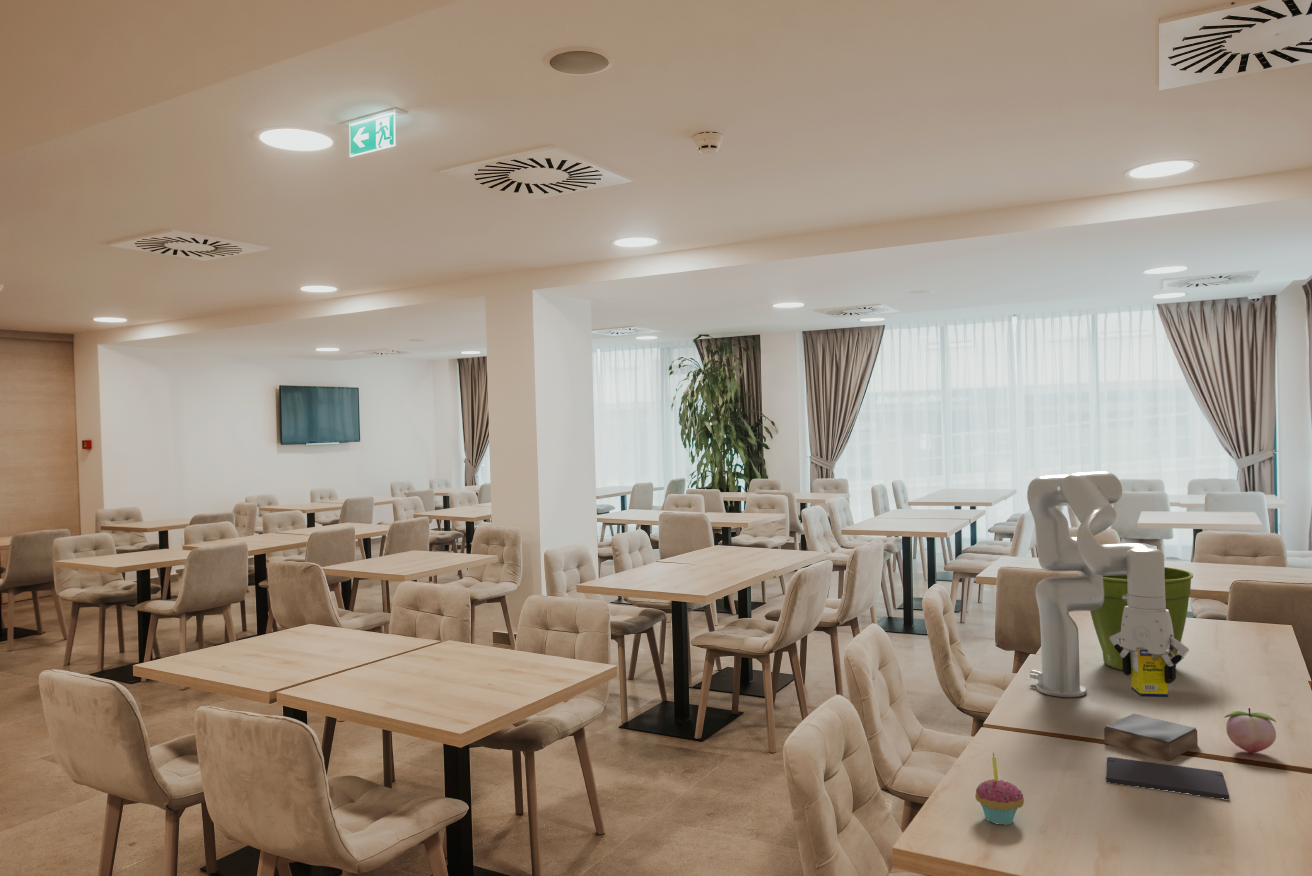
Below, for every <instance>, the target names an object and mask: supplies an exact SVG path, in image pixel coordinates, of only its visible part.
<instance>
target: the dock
mask: <svg viewBox="0 0 1312 876" xmlns="http://www.w3.org/2000/svg"><path fill="white" fill-rule="evenodd" d="M1103 732H1104V738H1103V739H1104V744H1106V745H1108V746H1109V745H1110V746H1112V747H1113V746H1114V747H1117V748H1121V749H1124V750H1128V751H1131V752H1132V751H1133V752H1135V753H1140V754H1142V755H1147V756H1150V757H1154V758H1158V759H1161V760H1165V761H1168V762H1170V761H1172V760H1173V759H1176V758H1177V757H1179V756H1181V755H1183V754H1185V753H1186V752H1188V750H1189V751H1190V749H1191V750H1193V749H1194V748H1196V747H1198V743H1199V742H1198V729H1197V728H1196V727H1193V726H1190V725H1189V726H1188V725H1185V724H1184V725H1183V724H1180V723H1176V722H1172V721H1168V720H1163V719H1158V718H1155V717H1151V716H1146V715H1141V714H1139V713H1138V714H1137V713H1132V714H1130V715H1128V716H1125V717H1123V718H1120V719H1117V720H1116V721H1113V722H1112V723H1109V724H1107V725H1105V726H1104V728H1103Z"/></svg>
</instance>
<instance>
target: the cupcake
mask: <svg viewBox="0 0 1312 876" xmlns="http://www.w3.org/2000/svg"><path fill="white" fill-rule="evenodd" d="M991 759H992V769H993V771H992V772H993V779H988V780H984V782H980V784H978V786H977V787H976V789H975V797H974V798H975V799H976V801H977V802H978V803H979V804H980V806H981V809H982V811H983V813H984V817H985V819H986V820H987V819H988V820H989V821H991V822H994V823H998V824H1009V823H1011V824H1012V823H1013V822H1014V819H1015V815H1016V813H1017V810H1018V809H1019V808H1021V807H1023V806H1024V802H1025V798H1024V794H1023V793H1022V790H1020V789H1019V788H1018V787H1017V786H1016V785H1014V784H1013V783H1011V782H1008V781H1005V780H1002V779H1000V780H999V775H998V766H997V765H998V764H997V758H996V756H995V753H994V752H992V757H991ZM988 820H987V821H988ZM989 821H988V822H989ZM991 822H990V823H991ZM1009 825H1010V824H1009Z"/></svg>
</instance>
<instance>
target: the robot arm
mask: <svg viewBox="0 0 1312 876" xmlns="http://www.w3.org/2000/svg"><path fill="white" fill-rule="evenodd" d="M1122 495H1123V486H1122V483H1121V481H1120V479H1119V478H1118V476H1117V475H1115V474H1114V473H1112V472H1110V471H1084V472H1081V471H1080V472H1074V473H1070V474H1050V475H1049V474H1048V475H1043V476H1038V477H1036V478H1033V479H1032V480H1031V481H1030V483H1028V487H1027V494H1026V498H1027V504H1028V507H1029V509H1030V513H1031V515H1032V518H1033V521H1034V526H1035V529H1034V530H1035V540H1036V549H1037V558H1038V563H1039V566H1040V567H1041V569H1042V570H1044V571H1047V572H1053V573H1061V572H1062V573H1063V572H1066V573H1067V572H1069V573H1070V572H1077V573H1078V576H1074V575H1073V576H1068V575H1067V576H1053V577H1052V576H1049V577H1046V578H1043V579H1041V580H1039V581H1038V583H1037V584H1036V587H1035V599H1036V603H1037V607H1038V612H1039V613H1038V614H1039V627H1040V652H1041V657H1040V658H1041V671H1039V670H1037V669H1031V670H1030V672H1029V678H1030V679H1034V680H1037V681H1038V682H1037V683H1036V687H1035V688H1036V690H1037V691H1038V692H1039V693H1041V694H1043V695H1044V694H1045V695H1048V696H1053V697H1060V698H1081V697H1083V696H1085V695H1086V694H1087V688H1086V687H1085V686H1083V684H1081V679H1080V678H1081V677H1080V676H1081V675H1080V673H1081V672H1080V671H1081V670H1080V645H1079V644H1080V642H1079V639H1080V638H1079V627H1078V625H1077V624H1076V621H1074V620H1073V618H1072V617H1071V616H1070V614H1069V613H1071V612H1089V611H1092V610H1097V609H1099V608H1101V607H1102V605H1103V603H1104V584H1103V576H1119V575H1127V587H1128V593H1127V594H1126V595H1124V594H1123V595H1122V599H1123V600H1126V601H1127V604H1128V606H1125V607H1124V610H1123V616H1122V623H1121V632H1119V633H1117V634H1115V635H1112V636H1110V640H1111V642H1112V644H1113V645H1114V647H1115V649H1116V650H1117V651H1118V652H1119V654H1120V656H1121V657H1122V659H1123V670H1122V671H1123V674H1124V676H1131V659H1130V651H1134V652H1135V651H1136V648H1143V649H1148V653H1149V654H1151V655H1158V656H1162V658H1163V659H1164V661H1165V662H1166V663H1167V665H1166V666H1164V671H1165V683H1167V684H1168V685H1169V684H1171V683H1174V682H1175V680H1176V679H1177V670H1176V669H1177V664H1179V663H1180V662H1181V661H1182V660H1184V658H1185V656H1186V655H1188V653H1189V651H1190V649H1189V647H1187V646H1186V645H1184V644H1183V643H1182V642H1181V643H1180V642H1179V641H1178V640H1176V639H1175V638H1174V633H1173V626H1172V621H1171V617H1170V613H1169V610H1167V609H1166V601H1165V572H1164V567H1165V555H1164V553H1163V551H1161V550H1160V549H1158V548H1152V547H1149V546H1147V545H1144V544H1143V543H1136V542H1135V543H1133V542H1132V543H1131V542H1130V543H1105V544H1104V543H1102V544H1101V543H1099V541H1098V540H1097V539H1096V537H1095V536H1096V535H1098V534H1100V533H1102V532H1104V531H1106V530H1107V529H1109V528H1111V526H1112V525H1113V524H1114V523H1115V521H1116V519H1117V511H1116V509H1115V508H1114V506H1113V504H1115V503H1117V502H1119V501H1120V499H1121V498H1122ZM1059 506H1060V507H1062V506H1066V507H1067V506H1068V507H1070V509H1071V511H1072V512H1073V514H1074V515H1075V517H1076V518H1077V520H1078V521H1079V523H1080V524H1079V526H1078V529H1077V532H1076V536H1071V535H1070V531H1069V529H1070V528H1069V521H1068V518H1067V517H1066V515H1065V514H1064V513H1063V512H1062V511H1061V510H1060V509H1059ZM1120 638H1121V643H1120V641H1119V639H1120ZM1174 647H1175V648H1177V649H1178V654H1177V655H1176V656H1174V655H1173V653H1172V652H1173V651H1174Z"/></svg>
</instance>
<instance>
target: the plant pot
mask: <svg viewBox="0 0 1312 876" xmlns="http://www.w3.org/2000/svg"><path fill="white" fill-rule="evenodd" d="M1164 572H1165V601H1166V609H1167V610H1169V613H1170V617H1171V621H1172V626H1173V633H1174V638H1175V639H1176V640H1178V641H1179V642H1180V643H1182V638H1183V635H1184V631H1185V625H1186V622H1187V621H1186V619H1187V616H1188V607H1189V602H1190V600H1189V599H1190V595H1191V587H1192V586H1191V584H1192V579H1193V578H1194V573H1192V572H1190V571H1188V570H1184V569H1179V568H1176V567H1167V566H1164ZM1103 584H1104V603H1103V605H1102V607H1101V608H1099V609H1097V610H1092V611H1090V612H1089V613H1090V615H1091V620H1092V622H1093V623H1092V624H1093V626H1094V631H1095V633H1096V636H1097V640H1098V642H1099V645H1100V648H1101V651H1102V659H1103V662H1104V664H1106V665H1107V666H1109V667H1110V668H1113V669H1116V670H1119V671H1124V670H1123V659H1122V657H1121V656H1120V654H1119V652H1118V651H1117V650H1116V649H1115V647H1114V645H1113V644H1112V642H1111V640H1110V636H1112V635H1115V634H1117V633H1119V632H1121V623H1122V616H1123V610H1124V607H1125V606H1128V604H1127V601H1126V600H1123V599H1122V595H1123V594H1124V595H1126V594H1127V593H1128V587H1127V575H1119V576H1103ZM1119 641H1120V643H1121V638H1120V639H1119ZM1178 652H1179V651H1178V649H1177V648H1175V647H1174V651H1173V652H1172V653H1173V655H1174V656H1176V655H1177V654H1178Z"/></svg>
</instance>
